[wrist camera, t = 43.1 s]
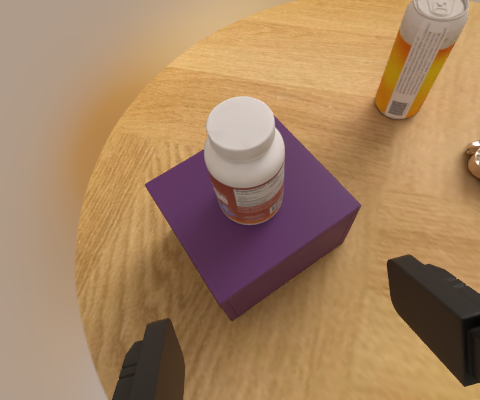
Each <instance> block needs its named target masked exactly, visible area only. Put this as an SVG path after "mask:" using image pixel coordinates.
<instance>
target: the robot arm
mask: <svg viewBox="0 0 480 400" xmlns="http://www.w3.org/2000/svg"><path fill="white" fill-rule="evenodd" d="M387 271H388V279H389V288H390V296H391V301H392V304H393V306H394V308H395V310H396V312H397V313H398V314H399V316H400V317H401V318H402V319H403V320H404V321H405V322H406V323H407V324H408V325H409V326H410V328H411V329H412V330H413V331H414V332H415V333H416V334H417V335H418V336H419V337H420V339H421V340H422V341H423V342H424V343H425V344H426V345H427V346H428V347H429V348H430V350H431V351H432V352H433V353H434V354H435V355H436V356H437V357H438V358H439V359H440V361H441V362H442V363H443V364H444V365H445V366H446V367H447V368H448V369H449V370H450V372H451V373H452V374H453V375H454V376H455V377H456V378H457V379H458V380H459V381H460V383H461V384H462V385H463V386H464V387H466V386H469V385H473V384H476V383H480V294H479V293H477V292H476V291H475V290H473V289H472V288H470V287H469V286H466V284H465V283H463V282H462V281H460V280H459V279H456V277H455V276H453V275H452V274H450V273H449V272H448V271H446V270H445V269H442V268H439V267H436V266H434V265H431V264H427V265H424V264H422V263H421V262H420V261H418V260H417V259H416V258H414V257H413V256H412V255H405V256H401V257H397V258H393V259H390V260H388V261H387ZM184 379H185V364H184V358H183V354H182V351H181V348H180V345H179V342H178V339H177V337H176V334H175V331H174V328H173V325H172V322H171V320H170V319H169V318H167V319H163V320H159V321H156V322H152V323H148V324H147V326H146V330H145V334H144V338H143V340H142V341H138V342H135V343H134V344H133V346H132V347H131V348H130V350H129V351H128V352H127V354H126V356H125V359H124V362H123V365H122V370H121V372H120V375H119V380H118V382H117V385H116V389H115V392H114V395H113V399H112V400H183V394H184Z"/></svg>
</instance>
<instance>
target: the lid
mask: <svg viewBox="0 0 480 400" xmlns="http://www.w3.org/2000/svg"><path fill="white" fill-rule="evenodd" d="M274 120H275V128H276V129H277V130H278V131H279V133H280V134H281V136H282V138H283V141H284V146H285V164H284V189H283V200H282V204H281V206H280V208H279V210H278V211H277V213H276V214H275V215H274V216H273V217H271V218H270V219H269V220H267V221H265V222H263V223H260V224H256V225H243V224H239V223H237V222H234V221H233V220H231V219H230V218H228V217H227V216H226V215H225V214H224V212H223V211H222V209H221V207H220V205H219V202H218V199H217V196H216V193H215V191H214V188H213V185H212V182H211V179H210V176H209V173H208V170H207V166H206V163H205V158H204V150H202V151H200V152H199V153H197V154H195V155H194V156H192V157H190V158H189V159H187V160H185V161H183V162H182V163H180V164H178V165H177V166H175V167H173V168H172V169H170V170H168V171H167V172H165V173H163V174H161V175H160V176H158V177H156V178H155V179H153V180H151V181H150V182H148V183H146V184H145V186H146V188H147V190H148V191H149V193H150V194H151V196H152V198H153V199H154V201H155V202H156V204H157V206H158V207H159V209H160V210H161V212H162V214H163V215H164V217H165V219H166V220H167V222H168V223H169V225H170V227H171V228H172V230H173V231H174V233H175V235H176V236H177V238H178V240H179V241H180V243H181V244H182V246H183V248H184V249H185V251H186V252H187V254H188V256H189V257H190V259H191V260H192V262H193V264H194V265H195V267H196V269H197V270H198V272H199V273H200V275H201V277H202V278H203V280H204V281H205V283H206V285H207V286H208V288H209V289H210V291H211V293H212V294H213V296H214V298H215V299H216V301H217V302H218V304H219V305H220V306H221V305H222V304H224V303H225V302H227V301H228V300H230V299H231V298H233V297H234V296H235V295H237V294H238V293H240V292H241V291H243V290H244V289H245V288H247V287H248V286H250V285H251V284H253V283H254V282H255V281H257V280H258V279H260V278H261V277H263V276H264V275H266V274H267V273H268V272H270V271H271V270H273V269H274V268H276V267H277V266H278V265H280V264H281V263H283V262H284V261H286V260H287V259H289V258H290V257H291V256H293V255H294V254H296V253H297V252H299V251H300V250H301V249H303V248H304V247H306V246H307V245H309V244H310V243H311V242H313V241H314V240H316V239H317V238H319V237H320V236H322V235H323V234H324V233H326V232H327V231H329V230H330V229H332V228H333V227H334V226H336V225H337V224H339V223H340V222H342V221H343V220H344V219H346V218H347V217H349V216H350V215H352V214H353V213H355V212H356V211H357V210H359V209H360V207H361V204H360V203H359V202H358V201H357V200H356V199H355V198H354V197H353V196H352V195H351V194H350V193H349V192H348V191H347V190H346V189H345V188H344V187H343V186H342V185H341V184H340V183H339V182H338V181H337V180H336V179H335V178H334V177H333V176H332V175H331V173H330V172H329V171H328V170H327V169H326V168H325V167H324V166H323V165H322V164H321V163H320V162H319V161H318V160H317V159H316V158H315V157H314V156H313V155H312V154H311V153H310V152H309V151H308V150H307V149H306V148H305V147H304V146H303V145H302V144H301V143H300V142H299V141H298V140H297V139H296V138H295V137H294V136H293V135H292V133H291V132H290V131H289V130H288V129H287V128H286V127H285V126H284V125H283V124H282V123H281V122H280V121H279V120H278V119H277V118H276V117H275V116H274Z"/></svg>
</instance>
